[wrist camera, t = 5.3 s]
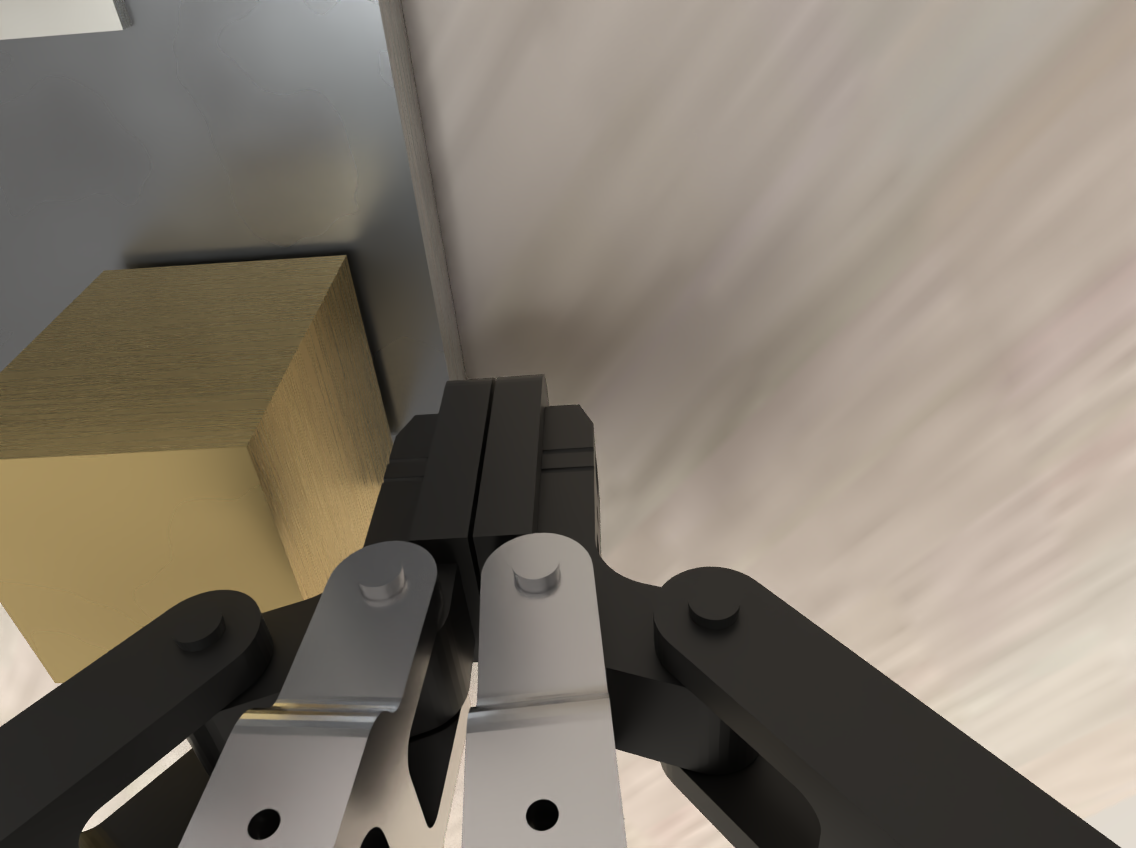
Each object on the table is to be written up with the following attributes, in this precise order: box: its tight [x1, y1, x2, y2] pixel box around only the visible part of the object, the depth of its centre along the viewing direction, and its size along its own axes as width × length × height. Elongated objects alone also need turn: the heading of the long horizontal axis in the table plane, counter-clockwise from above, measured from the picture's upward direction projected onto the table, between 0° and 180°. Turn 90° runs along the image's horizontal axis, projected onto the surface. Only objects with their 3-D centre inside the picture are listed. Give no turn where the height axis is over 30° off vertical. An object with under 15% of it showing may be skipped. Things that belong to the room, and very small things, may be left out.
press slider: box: [0, 255, 393, 683], centre depth 13 cm, size 4×4×5 cm
